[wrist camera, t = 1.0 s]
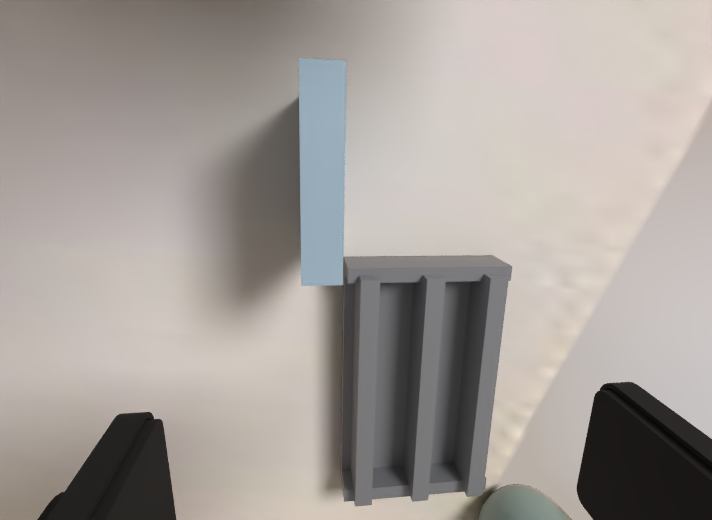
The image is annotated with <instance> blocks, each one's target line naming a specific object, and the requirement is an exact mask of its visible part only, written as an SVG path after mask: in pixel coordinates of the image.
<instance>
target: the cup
mask: <svg viewBox="0 0 712 520" xmlns="http://www.w3.org/2000/svg"><path fill="white" fill-rule="evenodd" d="M478 520H571V518H570V517H569V516H568V515H567V514H566V513H565V512H564V511H563V510H562V508H561V507H560V506H559V505H558V504H557V503H555V502H554V501H553V500H552V499H551V498H550V497H548V496H547V495H546V494H544V493H543V492H541V491H539V490H537V489H535V488H532V487H530V486H526V485H519V484H513V485H507V486H504V487H501V488H499V489H498V490H496V491H495V492H494V493H492V494H491V495H490V496H489V497H488V498H487V500H486V501H485V503H484V505H483V507H482V509H481V511H480V514H479V518H478Z"/></svg>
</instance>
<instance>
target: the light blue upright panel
mask: <svg viewBox="0 0 712 520" xmlns="http://www.w3.org/2000/svg"><path fill="white" fill-rule="evenodd" d="M345 112H346V60H329V59H310V58H299V134H300V219H301V286H324V285H343V247H344V179H345Z"/></svg>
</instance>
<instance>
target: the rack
mask: <svg viewBox="0 0 712 520" xmlns="http://www.w3.org/2000/svg"><path fill="white" fill-rule="evenodd" d="M511 272H512V266H511V265H509V264H507V263H505V262H503V261H502V260H500V259H498V258H496V257H494V256H492V255H486V256H377V257H344V268H343V334H342V401H341V467H340V472H341V481H342V489H343V497H344V502H345V501H354V502H355V506H365V505H372V499H380V498H392V497H404V496H411V500H412V501H423V500H428V494H440V493H452V492H463V491H465V493H466V496H467V497H470V496H481V495H483V490H485V486H486V477H485V470H486V462H487V453H488V445H489V437H490V429H491V420H492V412H493V404H494V395H495V387H496V379H497V370H498V362H499V354H500V345H501V337H502V329H503V321H504V312H505V304H506V296H507V287H508V281H510V280H511Z"/></svg>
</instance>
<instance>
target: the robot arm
mask: <svg viewBox="0 0 712 520" xmlns="http://www.w3.org/2000/svg"><path fill="white" fill-rule="evenodd" d="M577 493H578V497H579V500H580V502H581V504H582V505H583V507H584V508H585V509H586V511H587V512H588V513H589V514H590V516H591V517H592V518H593V520H712V439H710V438H709V437H708V436H707V435H705V434H704V433H702V432H701V431H700V430H698V429H697V428H696V427H694V426H693V425H692V424H690V423H689V422H687V421H686V420H685V419H683V418H682V417H681V416H679V415H678V414H677V413H675V412H674V411H672V410H671V409H670V408H668V407H667V406H666V405H664V404H663V403H661V402H660V401H659V400H657V399H656V398H655V397H653V396H652V395H650V394H649V393H648V392H646V391H645V390H644V389H642V388H641V387H639V386H638V385H636V384H634V383H632V382H621V383H607V384H604V385H603V386H602V387H601V388H600V391H598V392H597V393H596V394H595V397H594V402H593V407H592V412H591V417H590V422H589V427H588V433H587V437H586V442H585V448H584V452H583V457H582V463H581V468H580V473H579V478H578V483H577ZM38 520H176V515H175V507H174V500H173V493H172V485H171V478H170V471H169V463H168V456H167V449H166V441H165V434H164V427H163V422H162V420H161V419H154V417H153V415H152V413H150V412H142V413H126V414H119V415H117V416H116V418H115V419H114V420H113V422H112V423H111V425H110V426H109V428H108V429H107V431H106V432H105V433H104V435H103V436H102V438H101V439H100V441H99V442H98V444H97V445H96V447H95V448H94V450H93V451H92V453H91V454H90V455H89V457H88V458H87V460H86V461H85V463H84V464H83V466H82V467H81V469H80V470H79V472H78V473H77V475H76V476H75V478H74V479H73V480H72V482H71V483H70V485H69V486H68V488H67V489H66V491H65V492H62V493H60V494H58V495H57V496H55V497H54V498H53V500H52V501H51V502H50V503H49V504H48V505H47V507H46V508H45V510H44V511H43V513H42V514H41V515H40V517H39V518H38Z"/></svg>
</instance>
